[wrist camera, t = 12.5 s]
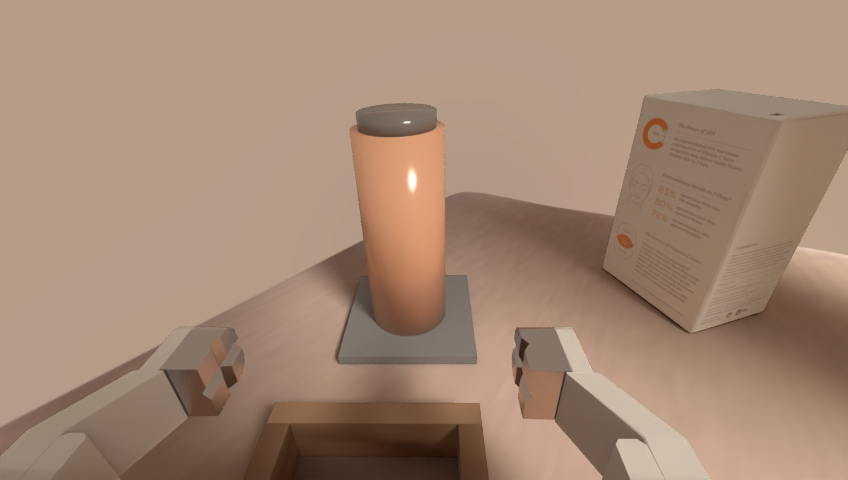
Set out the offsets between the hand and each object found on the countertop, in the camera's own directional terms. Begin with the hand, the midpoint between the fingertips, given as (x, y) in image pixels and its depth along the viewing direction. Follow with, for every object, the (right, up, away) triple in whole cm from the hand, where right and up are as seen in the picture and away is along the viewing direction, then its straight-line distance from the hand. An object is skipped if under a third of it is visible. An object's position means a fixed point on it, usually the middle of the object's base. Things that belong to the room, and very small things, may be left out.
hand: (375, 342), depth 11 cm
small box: (+20, -1, +16) cm, 26 cm away
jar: (0, -2, +14) cm, 14 cm away
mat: (+1, -2, +14) cm, 15 cm away
